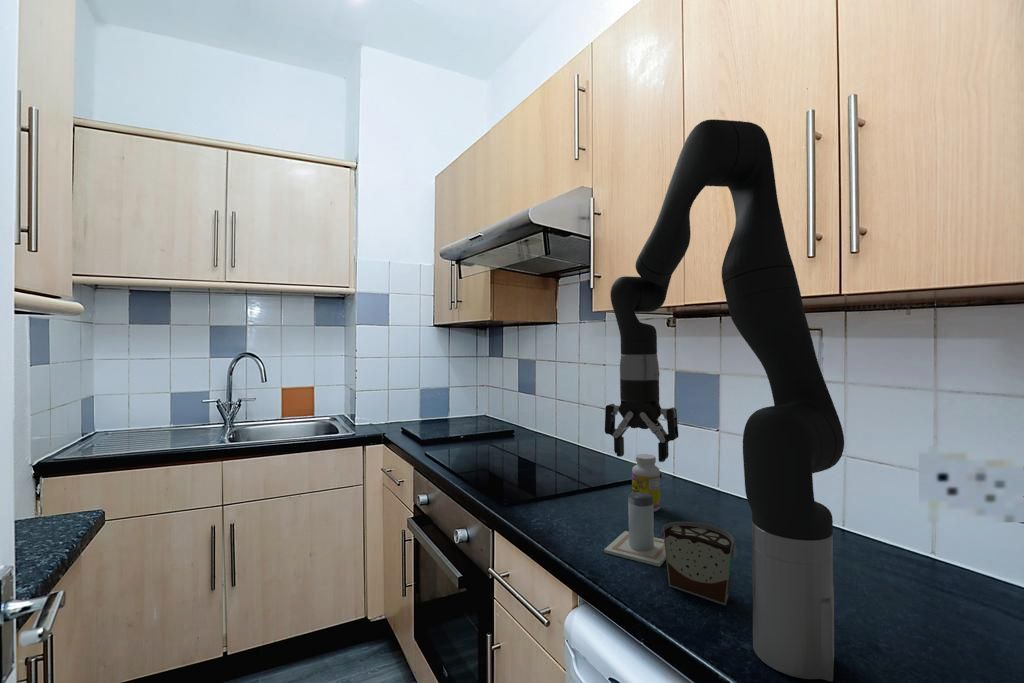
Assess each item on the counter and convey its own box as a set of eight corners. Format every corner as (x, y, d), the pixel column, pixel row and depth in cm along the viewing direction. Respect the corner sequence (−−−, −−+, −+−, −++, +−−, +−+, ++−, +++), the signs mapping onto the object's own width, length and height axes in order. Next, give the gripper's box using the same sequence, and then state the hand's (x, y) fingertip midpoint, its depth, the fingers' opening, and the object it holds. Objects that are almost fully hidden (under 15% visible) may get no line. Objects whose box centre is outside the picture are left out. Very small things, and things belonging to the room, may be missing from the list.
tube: (657, 543, 99) (656, 494, 99) (649, 553, 95) (648, 502, 95) (633, 538, 101) (633, 490, 101) (625, 547, 98) (624, 497, 97)
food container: (748, 593, 81) (747, 532, 81) (735, 609, 76) (735, 544, 76) (675, 570, 89) (675, 515, 89) (660, 583, 85) (660, 525, 85)
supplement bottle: (626, 505, 123) (626, 454, 123) (649, 502, 125) (648, 451, 125) (642, 514, 117) (642, 460, 117) (666, 510, 119) (665, 457, 119)
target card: (677, 545, 100) (677, 541, 100) (659, 566, 91) (659, 563, 91) (625, 533, 106) (625, 530, 106) (604, 552, 97) (604, 549, 97)
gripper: (598, 377, 99) (599, 458, 99) (669, 379, 91) (671, 467, 91) (613, 375, 105) (614, 451, 105) (681, 376, 97) (682, 459, 97)
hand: (640, 458), depth 98 cm, fingers open, 8 cm apart
